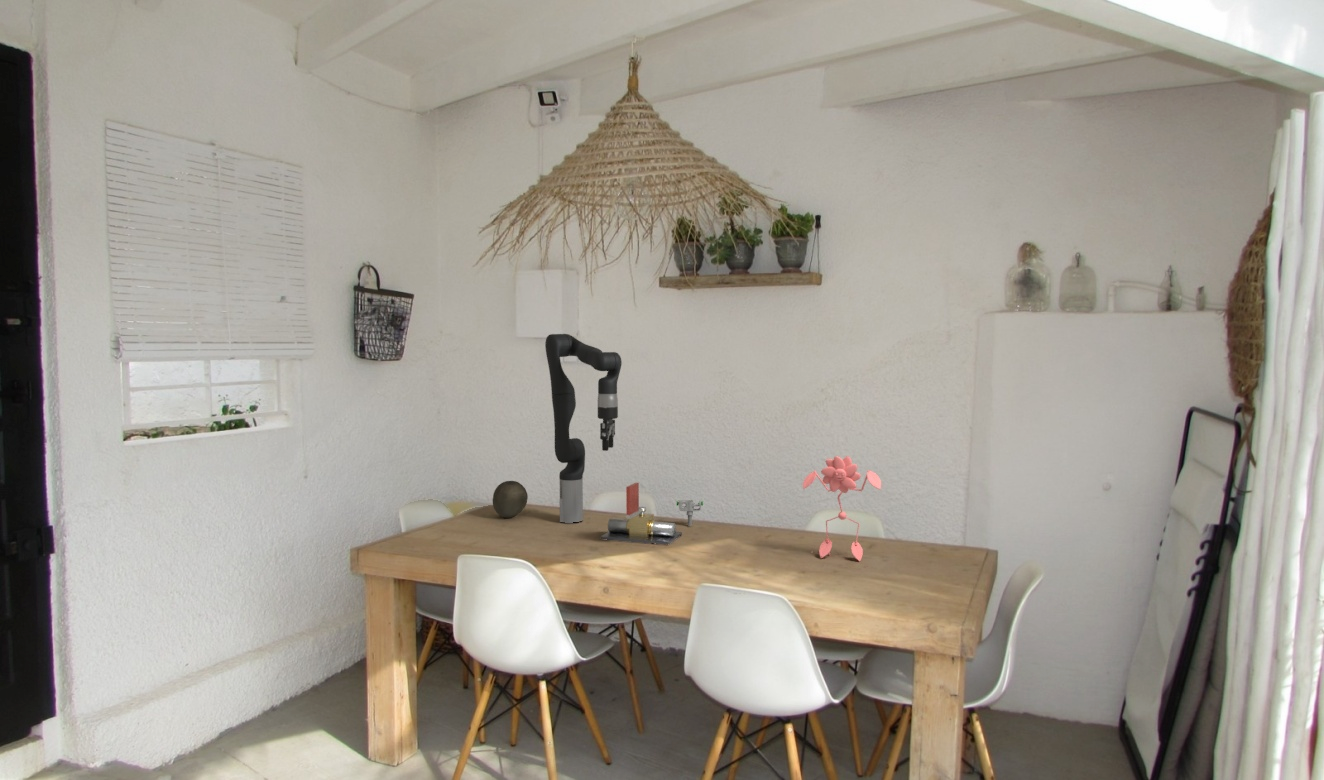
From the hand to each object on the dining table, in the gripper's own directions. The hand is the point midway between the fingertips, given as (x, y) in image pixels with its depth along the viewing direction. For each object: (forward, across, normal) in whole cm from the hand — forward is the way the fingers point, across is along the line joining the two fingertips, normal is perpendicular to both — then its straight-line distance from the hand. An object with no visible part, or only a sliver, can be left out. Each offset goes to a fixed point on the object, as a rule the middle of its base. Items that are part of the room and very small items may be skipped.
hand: (607, 449), depth 311 cm
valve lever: (+22, +11, +13) cm, 27 cm away
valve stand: (+32, +5, +14) cm, 35 cm away
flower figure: (+32, +27, +84) cm, 94 cm away
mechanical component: (+32, -16, +29) cm, 46 cm away
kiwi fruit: (+32, -21, -46) cm, 60 cm away
